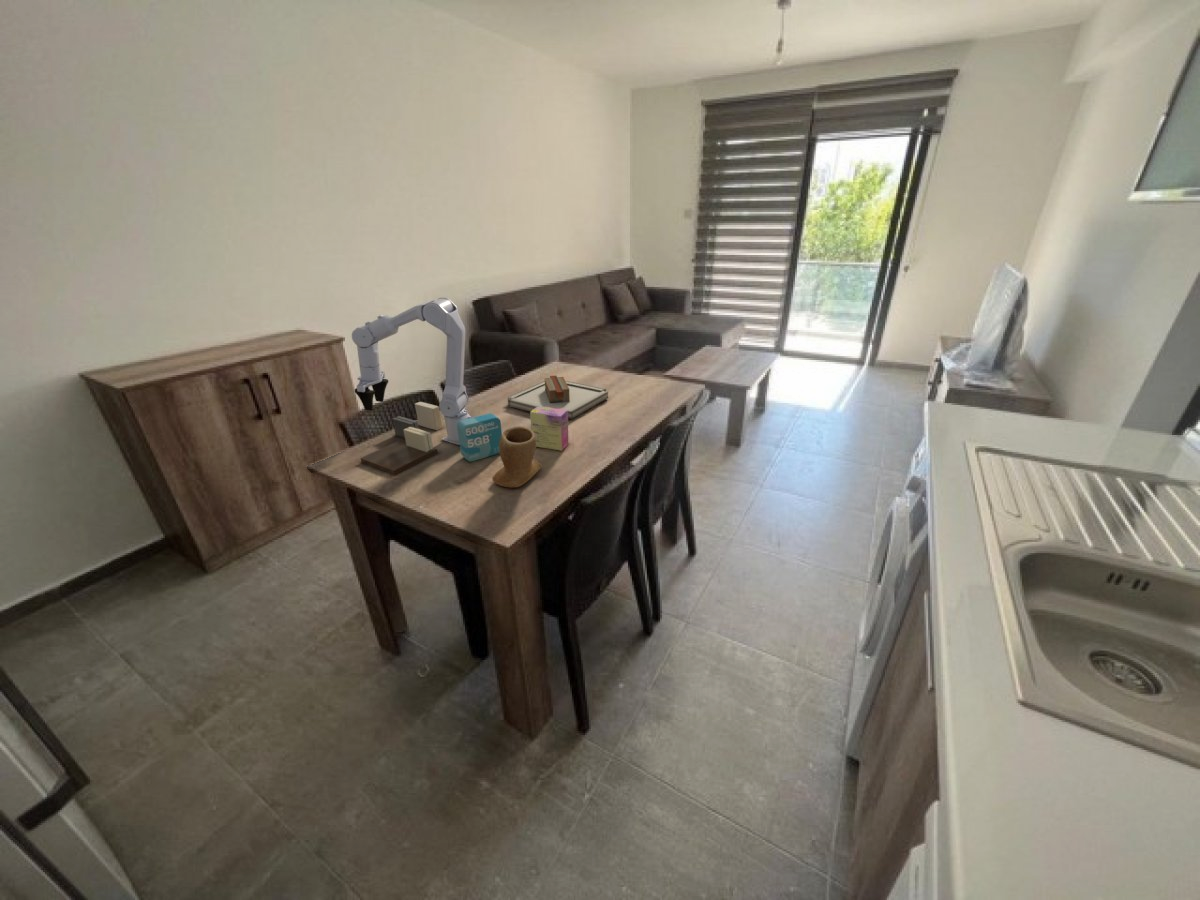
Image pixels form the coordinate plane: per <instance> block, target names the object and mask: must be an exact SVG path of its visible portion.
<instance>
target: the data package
mask: <svg viewBox="0 0 1200 900" xmlns="http://www.w3.org/2000/svg"><path fill="white" fill-rule="evenodd" d="M472 417H473V418H469V419H465V420H461V421H459V422H458V424H457V430H458V437H459V443H460V445H459V448H460V455H461V456H462V457H463V458H464V459H466V461H468V462H470V463H472V462H475V461H479V460H482V459H485V458H488V457H492V456H495V455H500V452H499V442H500V437H501V435H502V434H503V431H502V422H501V419H500V418H499V417H498V416H496V415H495V414H493V413H489V412H488V413H486V414H481V415H477V416H472Z"/></svg>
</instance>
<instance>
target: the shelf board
mask: <svg viewBox="0 0 1200 900" xmlns="http://www.w3.org/2000/svg"><path fill="white" fill-rule="evenodd" d="M437 454H439V451H438V448H436V447H433V449H432V450H429V451H428V452H425V451H422V450H419V449H415V448H412V447H409V446H407V445H406V440H405V438H402V439H400V440H398V441H395V442H393V443H391V444H389V445H386V446H385V447H382V448H380V449H378V450H376V451H373V452H370V453H369V454H366V455H364V456H362V457H360V462H361V463H362V464H364V465H366V466H369V467H372V468H375V469H378V470H381V471H383V472H386V473H388V474H391V475H393V476H396V475H397V474H400V473H402V472H404V471H405V470H407V469H410V468H411V467H413V466H415V465H417V464H419V463H421V462H423V461H425V460H427V459H429V458H431V457H433V456H435V455H437Z"/></svg>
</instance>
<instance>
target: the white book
mask: <svg viewBox="0 0 1200 900" xmlns="http://www.w3.org/2000/svg"><path fill="white" fill-rule="evenodd" d="M414 408H415V414H416V419H417V423H418V426H419V427H423V428H427V429H431V430H434V431H439V430H441V429H443V424H442V423H443V422H442V417H441V411H440V409H439V405H435V404H431V403H428V402H423V401H419V402H416V403H414Z"/></svg>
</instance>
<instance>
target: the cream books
mask: <svg viewBox="0 0 1200 900" xmlns="http://www.w3.org/2000/svg"><path fill="white" fill-rule="evenodd" d="M403 431H404V435H405V440H406V445H407V446H409V447H412V448H415V449H419V450H422V451H425V452H428V451H429V450H432V449H433V448H434V446H433V440H432V435H431V432H429V431H426V430H423V429H420V428H419V429H417V428H413V427H408V428H406V429H404V430H403Z"/></svg>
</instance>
